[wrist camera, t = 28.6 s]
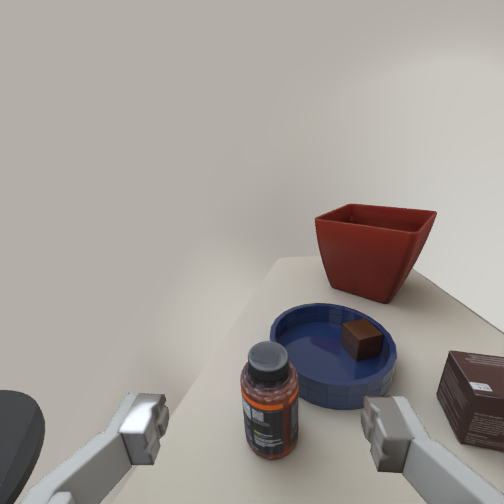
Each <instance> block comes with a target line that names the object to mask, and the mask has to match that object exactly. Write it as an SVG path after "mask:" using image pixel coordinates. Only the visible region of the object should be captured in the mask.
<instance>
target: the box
mask: <svg viewBox="0 0 504 504" xmlns="http://www.w3.org/2000/svg"><path fill="white" fill-rule="evenodd" d="M437 398H438V400H439V402H440V404H441V406H442V408H443V410H444V412H445V414H446V416H447V418H448V420H449V423H450V425H451V427H452V429H453V431H454V434H455V436H456V438H457V440H458V441H459V442H460V443H463V444H469V445H474V446H479V447H485V448H490V449H495V450H500V451H504V357H499V356H490V355H482V354H474V353H466V352H458V351H449V354H448V357H447V360H446V364H445V367H444V370H443V374H442V377H441V380H440V384H439V387H438V391H437Z"/></svg>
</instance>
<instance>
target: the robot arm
mask: <svg viewBox="0 0 504 504" xmlns="http://www.w3.org/2000/svg"><path fill="white" fill-rule="evenodd" d="M165 402H166V398H165V395H164V394H143V393H128V394H127V395H126V396H125V397H124V399H123V400H122V402H121V404H120V405H119V407H118V409H117V410H116V412H115V414H114V416H113V417H112V419H111V420H110V422H109V424H108V426H107V428H106V429H105V431H104V432H103V433H99V434H97V435H96V436H95V437H94V438H92V439H91V440H90V441H89V442H87V443H86V444H85V445H84V446H83V447H81V448H80V449H79V450H77V451H76V452H75V453H74V454H72V455H71V456H70V457H69V458H67V459H66V460H65V461H64V462H63V463H61V464H60V465H59V466H58V467H56V468H55V469H54V470H52V471H51V472H50V473H49V474H47V475H46V476H45V477H44V478H42V479H41V480H40V481H39V482H37V483H36V484H35V485H34V486H32V487H31V488H30V489H29V490H28V492H27V493H26V494H25V496H24V497H23V499H22V500H21V501H20V503H19V504H100V503H101V501H102V500H103V499H104V498H105V497H106V496H107V494H108V493H109V492H110V491H111V490H112V489H113V488H114V486H115V485H116V484H117V483H118V482H119V481H120V480H121V479H122V477H123V476H124V475H125V474H126V473H127V472H128V471H129V469H130V468H131V467H132V465H154V462H155V460H156V457H157V454H158V452H159V449H160V442H159V439H160V438H161V437H162V436H163V435H164V434H165V432H166V429H167V427H168V421H169V410H168V407H166V406H165V405H164V404H165ZM363 405H364V407H365V408H364V409H363V410H362V411H361V423H362V428H363V432H364V435H365V438H366V439H367V440H368V441H369V442H370V443H371V449H370V452H371V455H372V457H373V460H374V463H375V466H376V468H377V471H378V472H393V473H402V475H403V476H404V477H405V478H406V479H407V481H408V482H409V483H410V484H411V485H412V486H413V487H414V489H415V490H416V491H417V492H418V493H419V494H420V496H421V497H422V498H423V499H424V500H425V501H426V502H427V504H504V494H503V493H502V492H500V491H499V490H498V489H497V488H495V487H494V486H493V485H492V484H490V483H489V482H488V481H487V480H485V479H484V478H483V477H482V476H481V475H479V474H478V473H477V472H476V471H474V470H473V469H472V468H471V467H469V466H468V465H467V464H466V463H464V462H463V461H462V460H461V459H459V458H458V457H457V456H456V455H454V454H453V453H452V452H451V451H449V450H448V449H447V448H446V447H444V446H443V445H442V444H441V443H439V442H438V441H437V440H432V439H431V437H430V436H429V434H428V432H427V431H426V429H425V427H424V426H423V424H422V422H421V421H420V419H419V417H418V416H417V414H416V412H415V411H414V409H413V407H412V406H411V404H410V402H409V400H408V399H407V398H406V397H405V396H364V398H363Z"/></svg>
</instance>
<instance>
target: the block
mask: <svg viewBox="0 0 504 504" xmlns="http://www.w3.org/2000/svg"><path fill="white" fill-rule="evenodd" d="M382 336H383V334H382V333H381V332H380V331H379V330H378V329H376V328H375V327H374V326H373V325H372V324H370V323H369V322H368V321H367V320H366V319H365V318H364V319H360V320H355V321H351V322H347V323H343V324H342V334H341V345H342V346H343V347H344V348H345V350H346V351H347V352H348V353H349V354H350V355H351V356H352V357H353V359H354V360H355V361H356V362H358V361H362V360H365V359H369V358H372V357H376V356H379V354H380V348H381V342H382Z"/></svg>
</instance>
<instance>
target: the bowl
mask: <svg viewBox="0 0 504 504" xmlns="http://www.w3.org/2000/svg"><path fill="white" fill-rule="evenodd" d="M364 318H365V319H366V320H367V321H368V322H369V323H370V324H372V325H373V326H374V327H375V328H376V329H378V330H379V331H380V332H381V333H382V334H383V336H382V342H381V348H380V354H379V356H376V357H372V358H369V359H365V360H362V361H358V362H356V361H355V360H354V359H353V357H352V356H351V355H350V354H349V353H348V352H347V351H346V350H345V348H344V347H343V346H342V345H341V334H342V324H343V323H347V322H351V321H355V320H360V319H364ZM270 341H271V342H276V343H278V344H280V345H282V346H283V347H284V348H285V349H286V350H287V353H288V360H289V361H290V362H291V363H292V364H293V366H294V368H295V369H296V372H297V375H298V396H299V397H301V398H303V399H304V400H306V401H308V402H311V403H313V404H316V405H319V406H322V407H326V408H332V409H341V410H349V409H358V408H363V407H364V405H363V398H364V396H384V395H385V394H386V393H387V391H388V389H389V387H390V385H391V381H392V378H393V375H394V369H395V364H396V359H397V353H396V345H395V343H394V341H393V339H392V337H391V335H390V334H389V333H388V332H387V331H386V330H385V328H384V327H383V326H382V325H381V324H379V323H378V322H376V321H375V320H374V319H372V318H371V317H369V316H367V315H365V314H363V313H361V312H359V311H357V310H354V309H351V308H348V307H345V306H340V305H334V304H326V303H313V304H305V305H300V306H296V307H293V308H291V309H289V310H287V311H285V312H283V313H282V314H281V315H280V316H278V317H277V318H276V319H275V321H274V323H273V325H272V326H271V331H270Z"/></svg>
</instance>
